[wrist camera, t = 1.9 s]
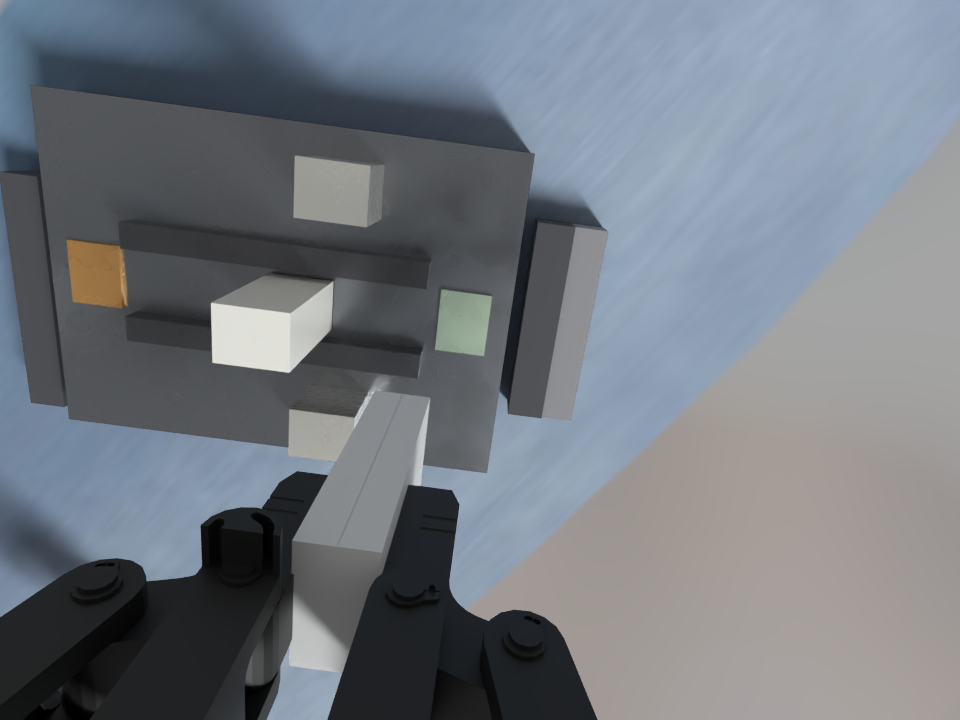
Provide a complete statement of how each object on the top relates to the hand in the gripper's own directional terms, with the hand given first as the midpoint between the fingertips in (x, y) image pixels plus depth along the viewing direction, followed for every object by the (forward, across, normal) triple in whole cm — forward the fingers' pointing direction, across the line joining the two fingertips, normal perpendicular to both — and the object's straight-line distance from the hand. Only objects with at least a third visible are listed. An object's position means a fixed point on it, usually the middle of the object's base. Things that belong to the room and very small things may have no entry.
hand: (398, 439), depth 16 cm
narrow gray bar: (+16, +5, 0) cm, 16 cm away
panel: (+16, -8, 0) cm, 17 cm away
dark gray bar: (+16, -21, -2) cm, 26 cm away
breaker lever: (+13, -7, 0) cm, 14 cm away
